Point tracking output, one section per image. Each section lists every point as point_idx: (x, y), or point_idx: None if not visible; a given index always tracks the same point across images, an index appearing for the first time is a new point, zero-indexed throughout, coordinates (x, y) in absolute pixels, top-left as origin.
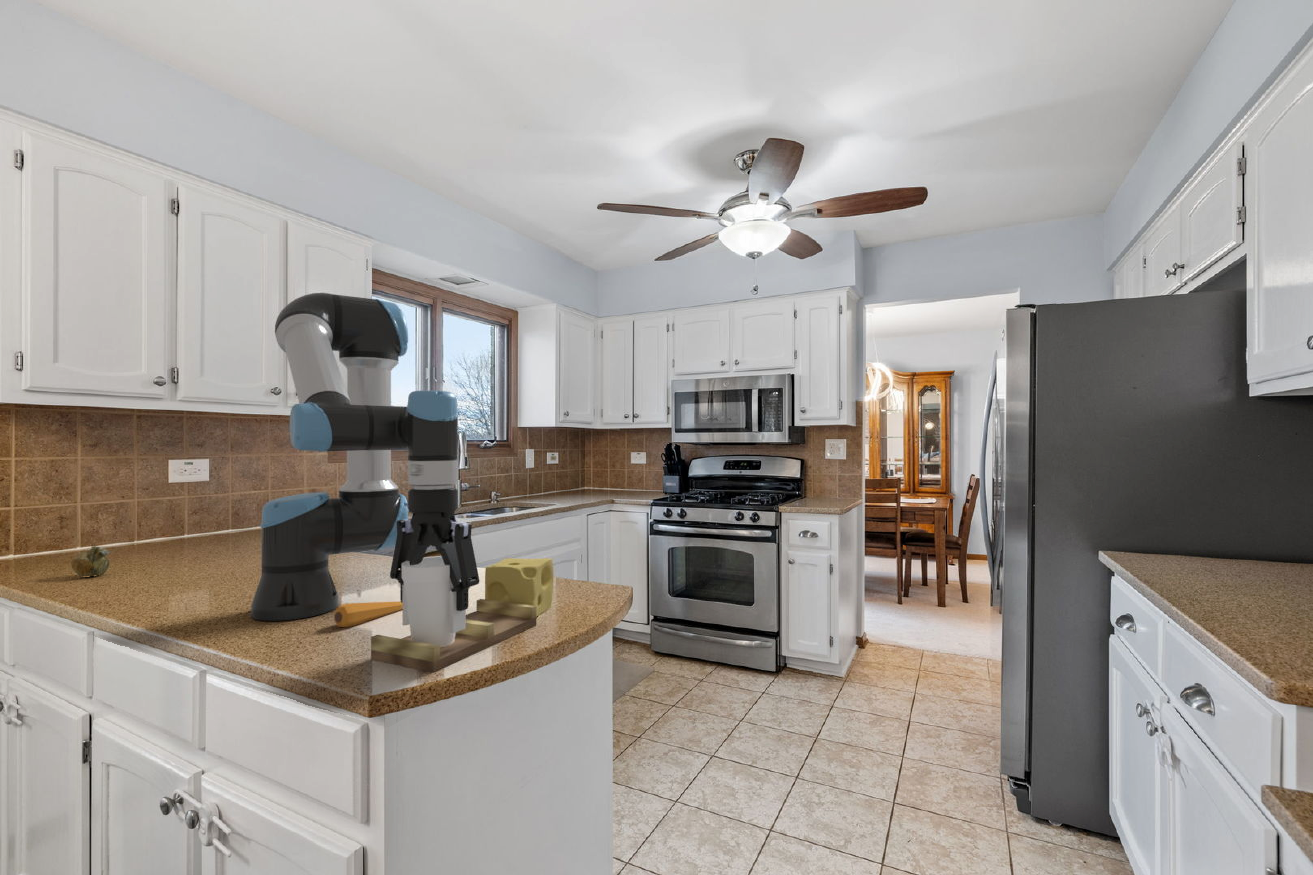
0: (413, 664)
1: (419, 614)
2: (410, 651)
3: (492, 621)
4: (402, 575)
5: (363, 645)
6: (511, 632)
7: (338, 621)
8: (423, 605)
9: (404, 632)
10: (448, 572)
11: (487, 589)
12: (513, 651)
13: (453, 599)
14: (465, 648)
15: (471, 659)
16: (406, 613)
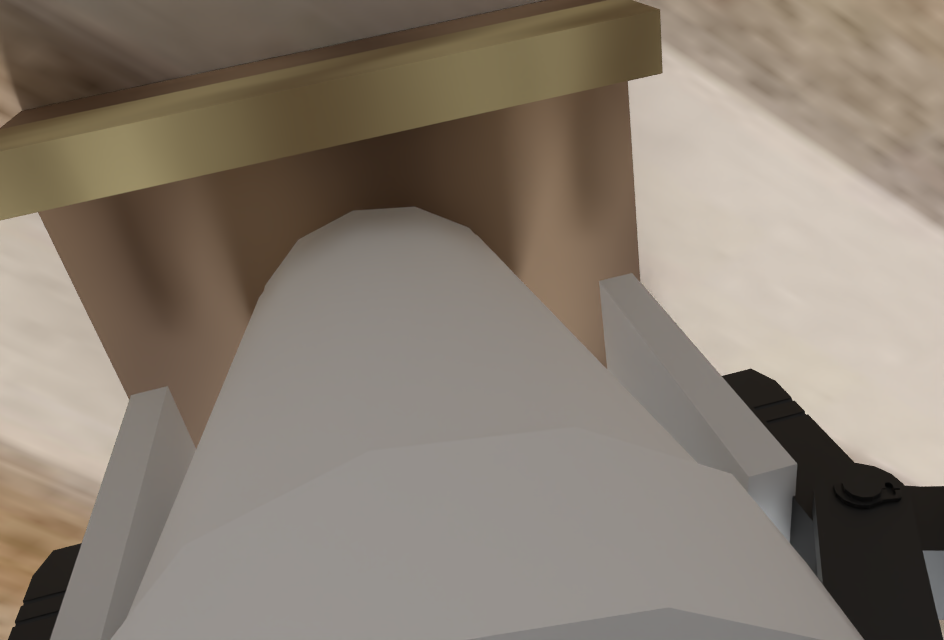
0: (205, 75)
1: (325, 312)
2: (228, 89)
3: None
4: (677, 488)
5: (856, 106)
6: None
7: None
8: (274, 374)
9: (813, 358)
10: None
11: None
12: (34, 556)
13: (68, 595)
14: (128, 392)
15: (82, 367)
16: (630, 328)
